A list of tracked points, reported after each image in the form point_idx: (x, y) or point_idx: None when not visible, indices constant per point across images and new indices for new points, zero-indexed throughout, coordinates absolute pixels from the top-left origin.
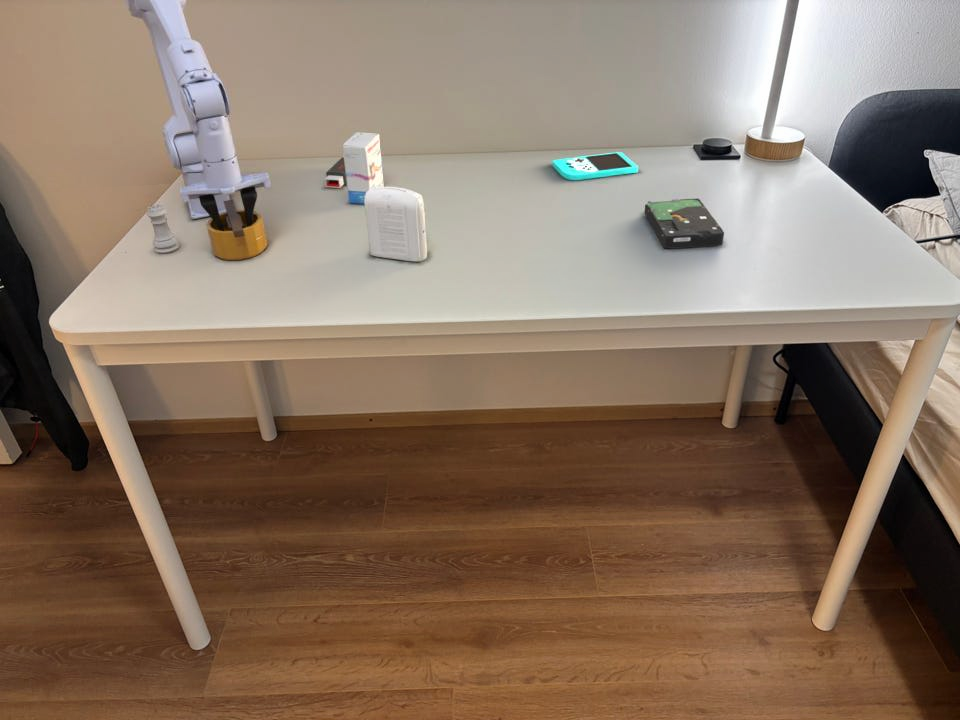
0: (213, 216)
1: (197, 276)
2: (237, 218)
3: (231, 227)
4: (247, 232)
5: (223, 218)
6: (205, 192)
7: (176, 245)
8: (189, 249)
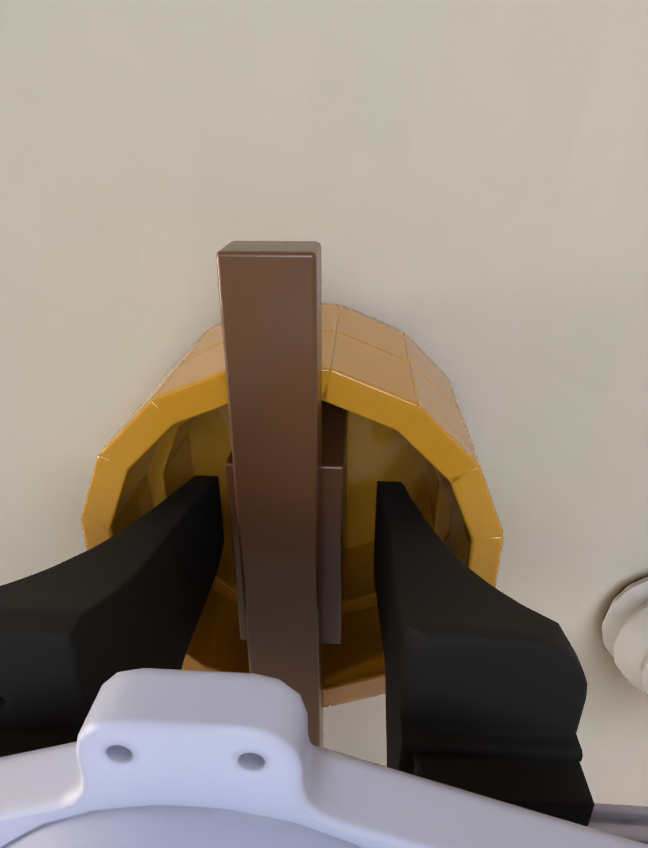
0: (450, 569)
1: (628, 209)
2: (249, 516)
3: (322, 467)
4: (211, 365)
5: (354, 659)
6: (535, 832)
7: (628, 607)
8: (565, 566)
